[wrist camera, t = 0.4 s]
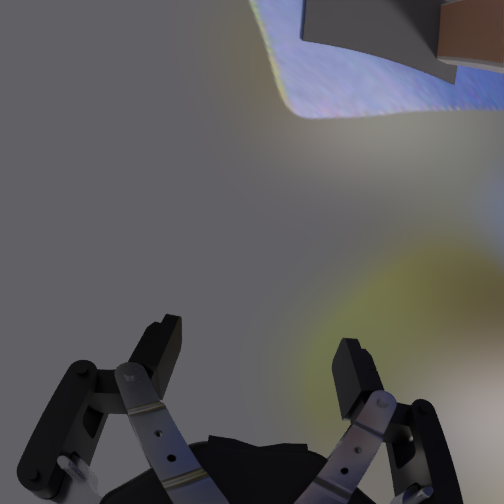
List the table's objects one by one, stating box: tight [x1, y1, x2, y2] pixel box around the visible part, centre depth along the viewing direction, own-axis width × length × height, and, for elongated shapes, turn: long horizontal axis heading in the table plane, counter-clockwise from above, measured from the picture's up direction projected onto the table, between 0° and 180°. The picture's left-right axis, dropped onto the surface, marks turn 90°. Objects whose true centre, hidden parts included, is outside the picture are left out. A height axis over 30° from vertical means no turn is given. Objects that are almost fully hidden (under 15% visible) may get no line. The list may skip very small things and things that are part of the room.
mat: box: [303, 0, 457, 84], centre depth 21 cm, size 21×14×1 cm, turn 86°
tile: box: [437, 0, 504, 74], centre depth 14 cm, size 2×9×15 cm, turn 176°
